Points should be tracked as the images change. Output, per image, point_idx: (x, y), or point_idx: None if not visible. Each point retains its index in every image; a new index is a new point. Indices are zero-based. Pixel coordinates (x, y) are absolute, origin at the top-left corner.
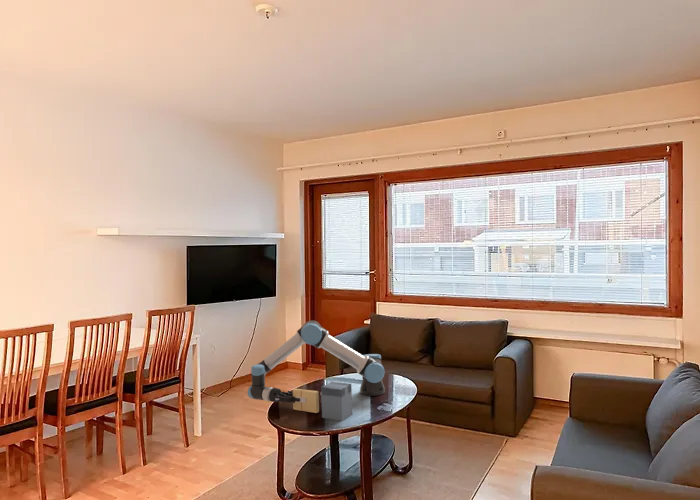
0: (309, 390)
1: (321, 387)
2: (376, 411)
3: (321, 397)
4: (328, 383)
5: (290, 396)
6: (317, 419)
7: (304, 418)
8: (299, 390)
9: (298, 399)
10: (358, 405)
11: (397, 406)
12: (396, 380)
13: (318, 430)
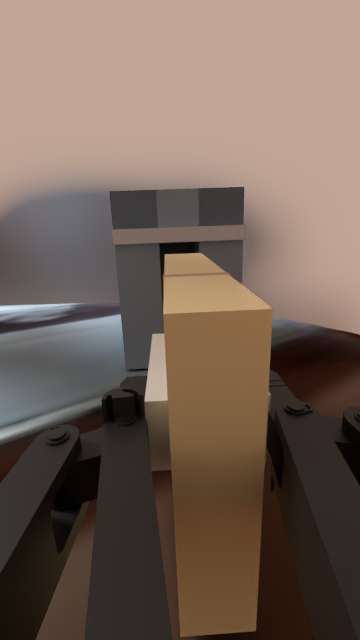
0: (174, 263)
1: (243, 189)
2: (85, 314)
3: (242, 253)
4: (155, 190)
5: (324, 461)
6: (271, 369)
7: (321, 412)
8: (232, 278)
9: (273, 377)
10: (13, 347)
11: (29, 306)
12: None
13: (354, 333)
